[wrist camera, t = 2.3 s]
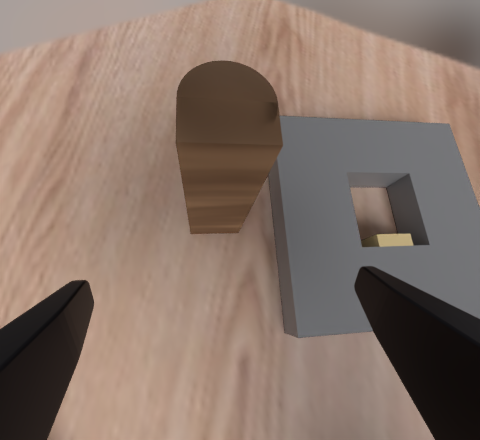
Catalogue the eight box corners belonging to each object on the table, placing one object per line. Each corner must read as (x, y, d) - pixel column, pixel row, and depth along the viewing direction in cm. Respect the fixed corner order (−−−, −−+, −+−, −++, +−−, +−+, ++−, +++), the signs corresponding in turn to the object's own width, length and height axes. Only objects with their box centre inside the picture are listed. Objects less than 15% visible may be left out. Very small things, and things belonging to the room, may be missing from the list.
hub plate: (480, 316, 23) (519, 318, 20) (284, 332, 20) (298, 337, 17) (424, 141, 28) (449, 123, 25) (264, 136, 25) (272, 115, 23)
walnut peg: (238, 232, 22) (283, 145, 10) (190, 233, 21) (175, 141, 9) (235, 190, 23) (273, 64, 11) (190, 189, 23) (177, 57, 10)
